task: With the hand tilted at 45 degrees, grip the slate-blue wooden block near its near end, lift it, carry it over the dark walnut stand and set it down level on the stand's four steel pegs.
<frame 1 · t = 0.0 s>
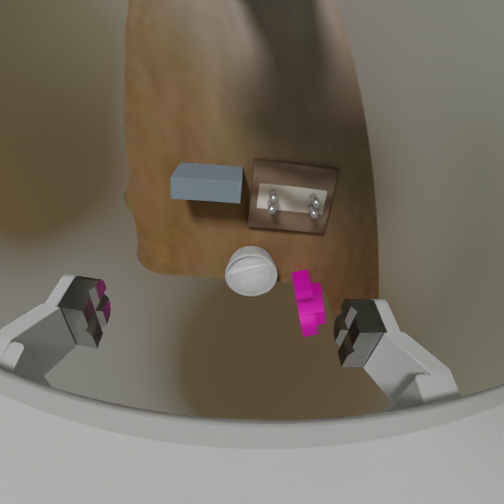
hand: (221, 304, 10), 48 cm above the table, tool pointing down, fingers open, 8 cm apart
toy block: (308, 292, 74), on the table
peg stand: (291, 195, 59), on the table
ramekin: (251, 261, 69), on the table
slate block: (210, 174, 57), on the table
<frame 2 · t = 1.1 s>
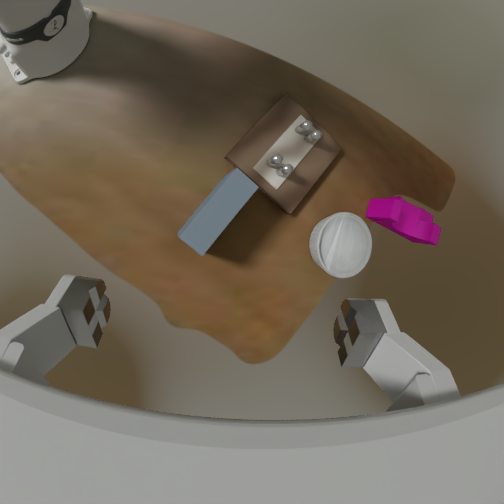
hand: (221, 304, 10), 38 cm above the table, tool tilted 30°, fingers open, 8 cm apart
toy block: (393, 216, 58), on the table
peg stand: (285, 152, 49), on the table
ramekin: (330, 242, 54), on the table
slate block: (210, 211, 47), on the table
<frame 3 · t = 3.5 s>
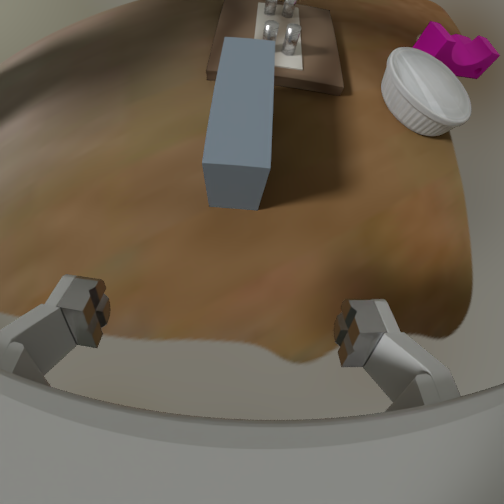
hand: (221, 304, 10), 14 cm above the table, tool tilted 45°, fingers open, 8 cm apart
toy block: (441, 61, 33), on the table
peg stand: (276, 40, 29), on the table
ramekin: (412, 106, 30), on the table
slate block: (239, 146, 26), on the table
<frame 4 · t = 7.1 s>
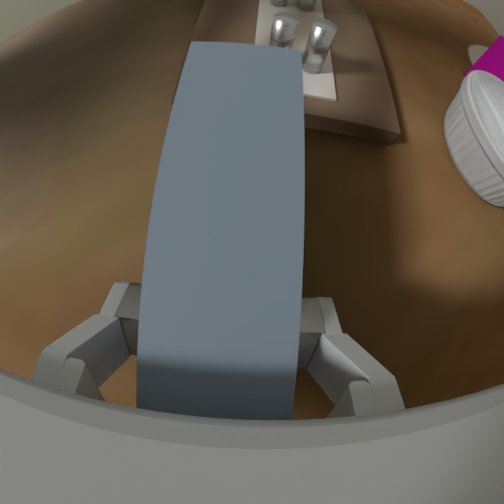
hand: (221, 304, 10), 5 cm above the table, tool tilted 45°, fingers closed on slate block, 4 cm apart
toy block: (498, 88, 22), on the table
peg stand: (288, 46, 19), on the table
ramekin: (478, 156, 19), on the table
slate block: (228, 249, 16), on the table, touching gripper
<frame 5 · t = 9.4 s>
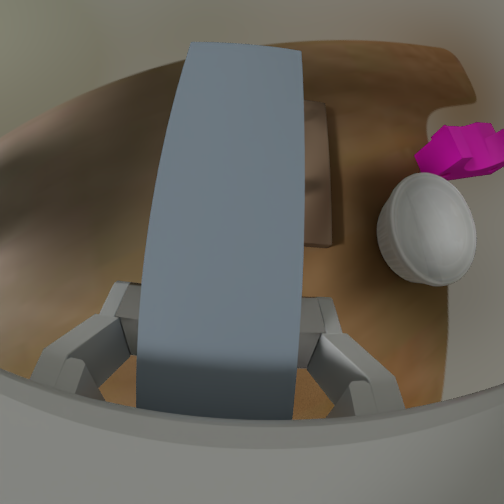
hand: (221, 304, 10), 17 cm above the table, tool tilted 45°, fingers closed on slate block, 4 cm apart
toy block: (452, 157, 33), on the table
peg stand: (257, 164, 29), on the table
ramekin: (410, 238, 30), on the table
slate block: (227, 250, 16), point 12 cm above the table, touching gripper
when the fingers open (12 cm above the table, at t = 11.8 s): slate block drops 1 cm, resting on peg stand.
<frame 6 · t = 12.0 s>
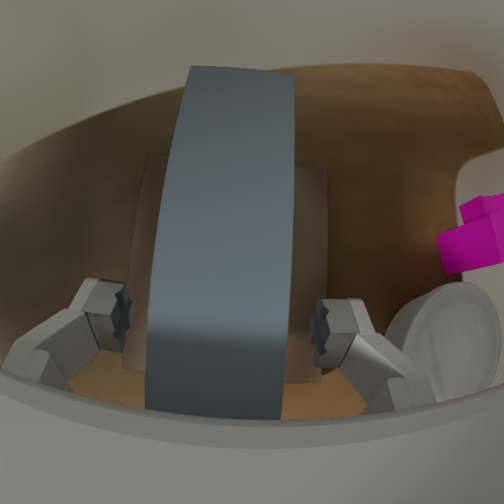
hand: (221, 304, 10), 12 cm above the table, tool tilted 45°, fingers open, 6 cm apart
toy block: (480, 232, 25), on the table
peg stand: (228, 267, 22), on the table
ramekin: (420, 350, 22), on the table
slate block: (226, 258, 17), point 5 cm above the table, touching peg stand
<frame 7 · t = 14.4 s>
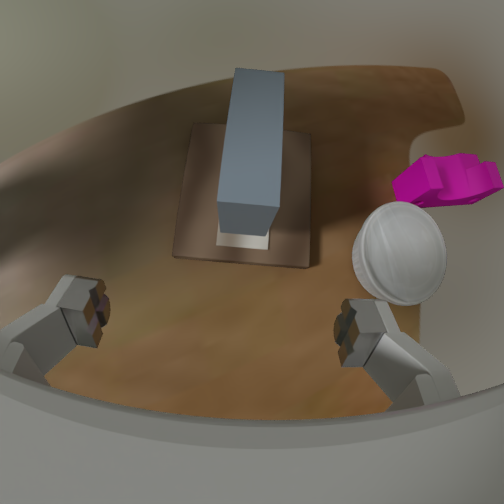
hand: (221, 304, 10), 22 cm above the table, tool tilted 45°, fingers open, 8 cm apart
toy block: (432, 186, 36), on the table
peg stand: (246, 192, 34), on the table
ramekin: (384, 260, 34), on the table
slate block: (248, 173, 28), point 5 cm above the table, touching peg stand
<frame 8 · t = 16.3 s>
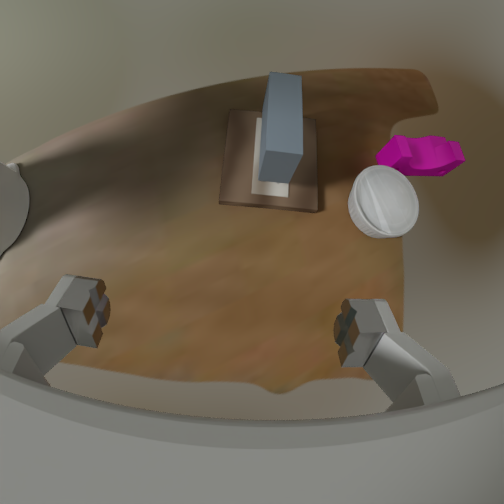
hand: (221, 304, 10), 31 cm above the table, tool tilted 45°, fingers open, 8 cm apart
toy block: (408, 160, 48), on the table
peg stand: (270, 159, 45), on the table
ramekin: (372, 210, 45), on the table
slate block: (275, 142, 40), point 5 cm above the table, touching peg stand
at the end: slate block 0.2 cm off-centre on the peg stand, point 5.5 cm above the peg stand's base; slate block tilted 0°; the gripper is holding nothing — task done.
